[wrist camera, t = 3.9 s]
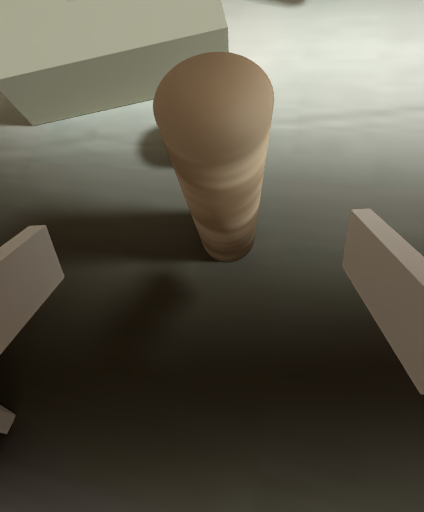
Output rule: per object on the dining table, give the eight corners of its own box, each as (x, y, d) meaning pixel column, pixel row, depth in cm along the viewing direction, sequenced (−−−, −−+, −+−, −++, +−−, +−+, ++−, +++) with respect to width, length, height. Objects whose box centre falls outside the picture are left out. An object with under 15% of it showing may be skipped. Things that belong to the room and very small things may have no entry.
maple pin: (248, 207, 24) (258, 40, 11) (259, 256, 23) (287, 138, 10) (197, 218, 24) (145, 66, 11) (206, 267, 23) (162, 165, 10)
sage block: (194, -56, 32) (187, -125, 28) (229, 82, 28) (227, 27, 23) (28, -16, 33) (-8, -77, 28) (33, 125, 28) (-10, 81, 23)
